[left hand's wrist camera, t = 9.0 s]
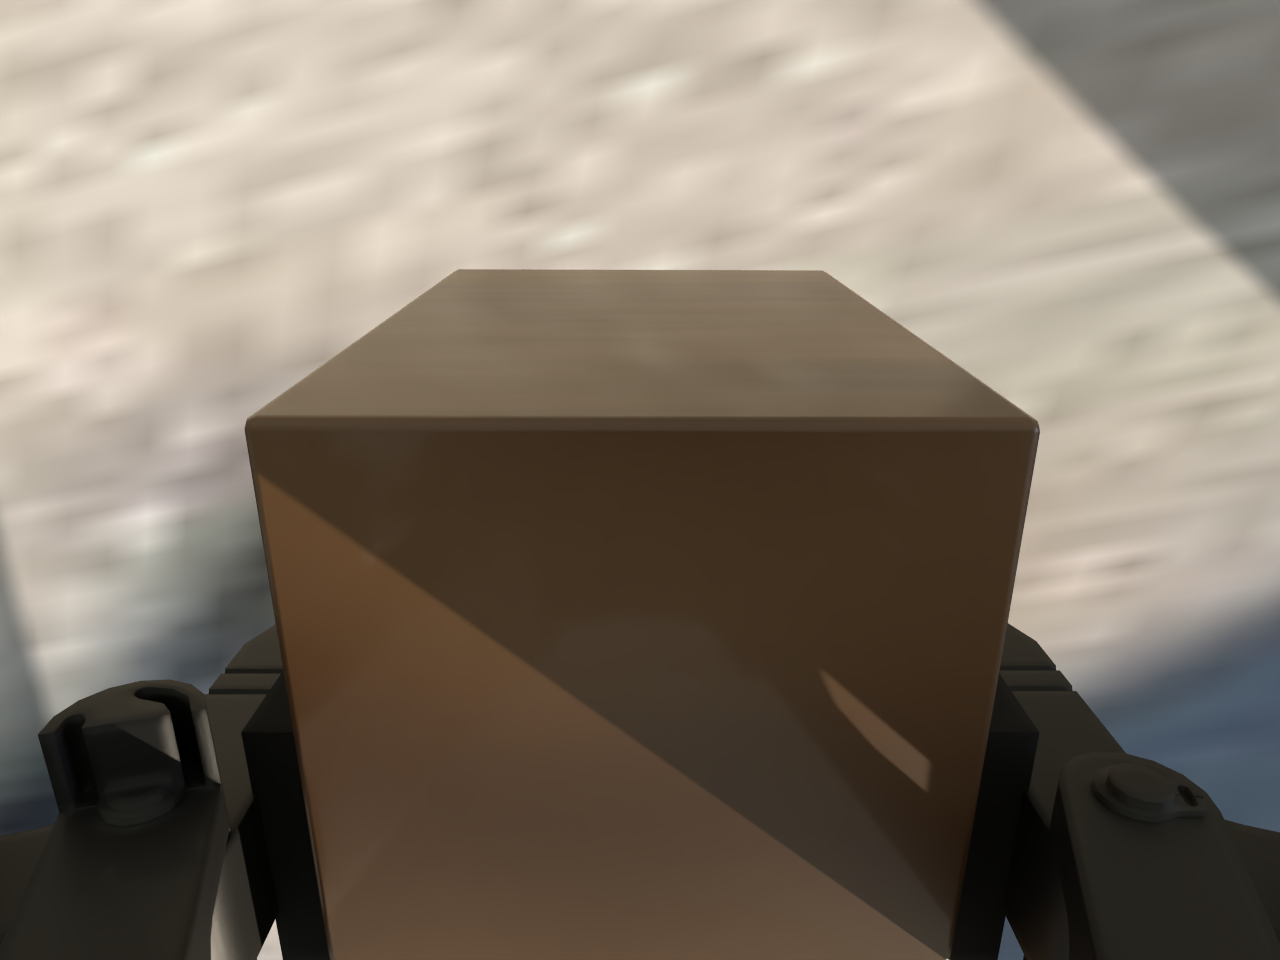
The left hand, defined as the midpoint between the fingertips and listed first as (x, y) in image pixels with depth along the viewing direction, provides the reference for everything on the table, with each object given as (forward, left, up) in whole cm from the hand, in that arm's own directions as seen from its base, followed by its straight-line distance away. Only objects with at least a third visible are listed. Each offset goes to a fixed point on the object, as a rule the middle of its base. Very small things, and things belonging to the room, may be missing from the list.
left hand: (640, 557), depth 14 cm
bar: (+3, +25, -1) cm, 26 cm away
